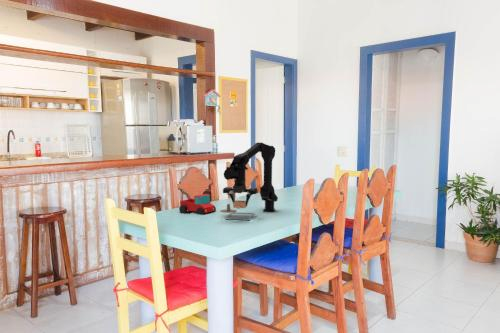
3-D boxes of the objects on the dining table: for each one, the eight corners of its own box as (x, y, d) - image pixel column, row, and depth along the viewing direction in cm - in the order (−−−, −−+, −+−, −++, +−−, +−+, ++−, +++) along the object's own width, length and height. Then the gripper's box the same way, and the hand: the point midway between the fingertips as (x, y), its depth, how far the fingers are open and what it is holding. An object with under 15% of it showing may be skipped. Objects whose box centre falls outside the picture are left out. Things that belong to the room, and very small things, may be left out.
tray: (231, 214, 227) (231, 212, 227) (254, 215, 224) (254, 213, 224) (225, 219, 214) (225, 217, 214) (249, 221, 211) (249, 218, 211)
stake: (222, 210, 239) (222, 202, 238) (238, 211, 236) (238, 202, 236) (218, 214, 229) (218, 205, 228) (234, 214, 227) (234, 206, 226)
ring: (236, 205, 222) (236, 200, 222) (247, 205, 221) (247, 200, 221) (232, 208, 214) (232, 202, 214) (244, 208, 213) (244, 203, 212)
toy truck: (203, 217, 221) (202, 197, 220) (178, 212, 233) (178, 194, 232) (217, 213, 231) (216, 194, 230) (192, 209, 243) (192, 191, 242)
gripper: (220, 179, 211) (220, 207, 212) (253, 180, 207) (253, 209, 209) (225, 177, 222) (225, 204, 223) (257, 177, 218) (257, 205, 219)
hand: (240, 205), depth 218 cm, fingers closed on ring, 7 cm apart
